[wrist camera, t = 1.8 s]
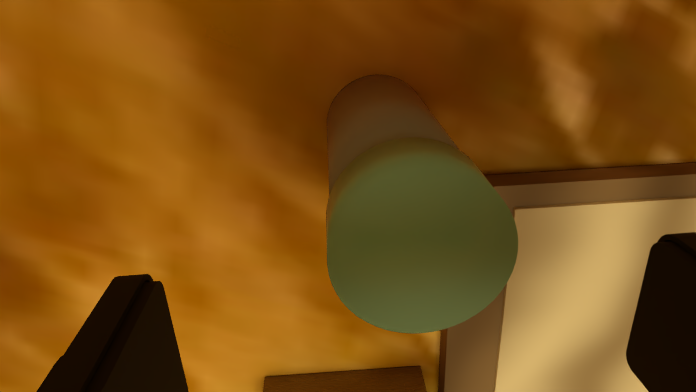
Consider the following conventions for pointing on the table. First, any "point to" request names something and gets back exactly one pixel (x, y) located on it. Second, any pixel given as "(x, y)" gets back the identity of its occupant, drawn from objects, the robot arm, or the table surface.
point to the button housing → (351, 381)
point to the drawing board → (570, 280)
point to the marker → (409, 214)
